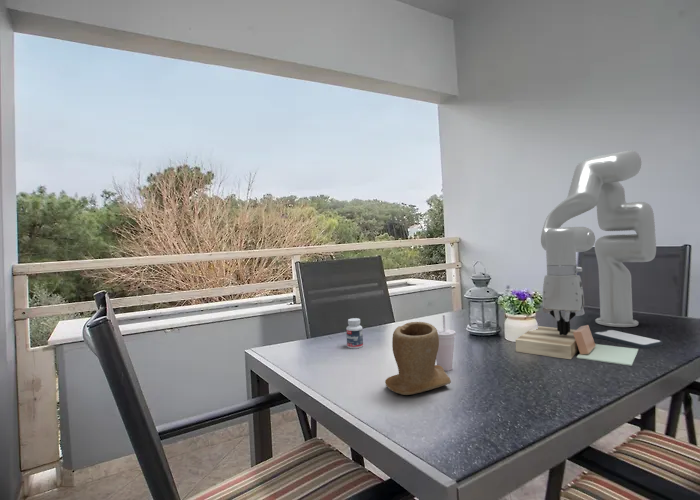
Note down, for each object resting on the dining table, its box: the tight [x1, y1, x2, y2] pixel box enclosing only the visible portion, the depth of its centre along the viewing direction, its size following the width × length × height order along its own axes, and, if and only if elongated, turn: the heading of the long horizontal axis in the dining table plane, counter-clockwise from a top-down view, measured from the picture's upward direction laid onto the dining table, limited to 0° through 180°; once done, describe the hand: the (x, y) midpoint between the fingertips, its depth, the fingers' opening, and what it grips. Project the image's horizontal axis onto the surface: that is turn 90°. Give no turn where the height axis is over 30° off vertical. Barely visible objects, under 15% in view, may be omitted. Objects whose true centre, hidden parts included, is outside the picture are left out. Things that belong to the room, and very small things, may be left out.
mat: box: [576, 343, 639, 367], centre depth 106 cm, size 16×12×1 cm
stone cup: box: [384, 321, 452, 396], centre depth 88 cm, size 15×12×15 cm
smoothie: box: [435, 314, 457, 372], centre depth 100 cm, size 6×6×14 cm
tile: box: [573, 324, 596, 354], centre depth 109 cm, size 9×6×2 cm
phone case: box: [593, 329, 664, 349], centre depth 117 cm, size 9×2×16 cm
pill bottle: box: [345, 317, 364, 349], centre depth 126 cm, size 5×5×9 cm
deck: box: [515, 325, 580, 360], centre depth 115 cm, size 20×14×4 cm
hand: (563, 334), depth 112 cm, fingers closed
